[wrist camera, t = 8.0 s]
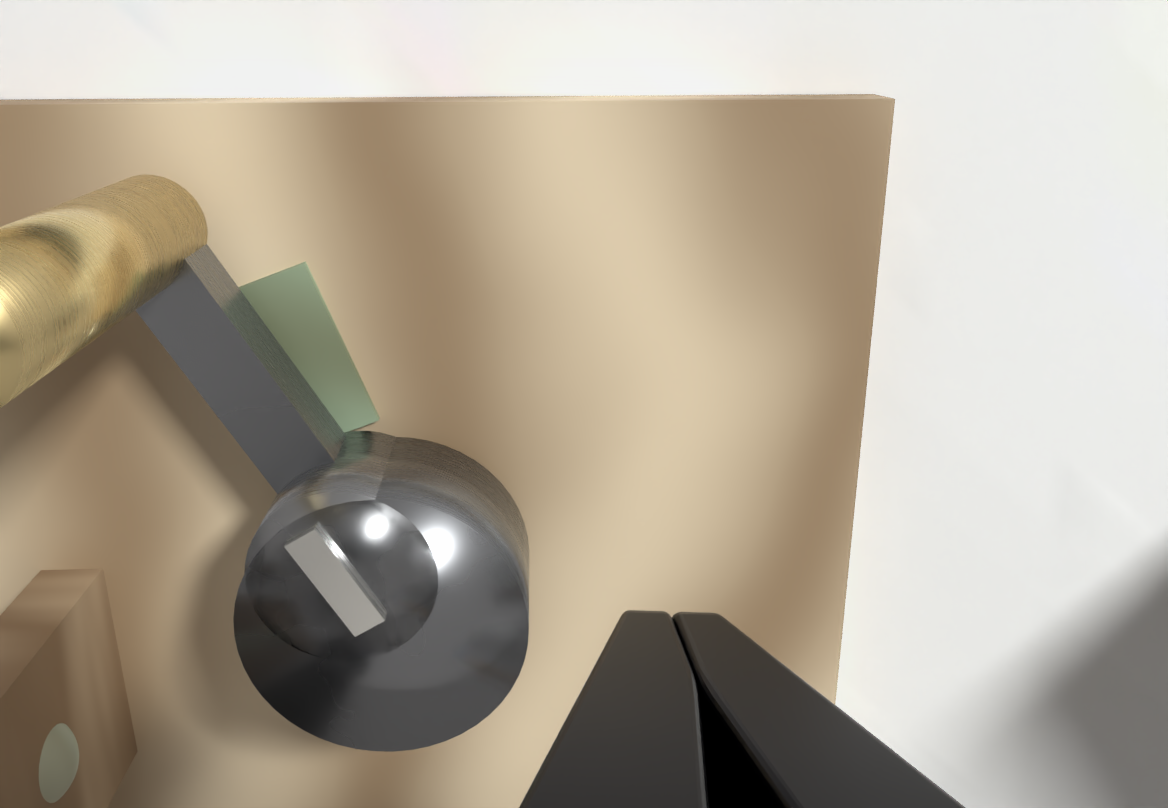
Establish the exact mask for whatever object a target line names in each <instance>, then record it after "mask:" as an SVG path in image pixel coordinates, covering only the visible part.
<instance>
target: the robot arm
mask: <svg viewBox="0 0 1168 808" xmlns="http://www.w3.org/2000/svg"><path fill="white" fill-rule="evenodd" d="M519 808H965V807H964V806H963V805H961V804H960V803H959V802H958V801H956V800H955V799H954V798H953V797H951V796H950V795H949V794H947V793H946V792H945V791H944V790H942V789H941V788H940V787H939V786H937V785H936V784H935V783H933V782H932V781H931V780H930V779H928V778H927V777H926V776H925V775H923V774H922V773H921V772H920V771H918V770H917V769H916V768H914V767H913V766H912V765H911V764H909V763H908V762H907V761H906V760H904V759H903V758H902V757H900V756H899V755H898V754H897V753H895V752H894V751H893V750H892V749H890V748H889V747H888V746H887V745H885V744H884V743H883V742H881V741H880V740H879V739H878V738H876V737H875V736H874V735H873V734H871V733H870V732H869V731H868V730H866V729H865V728H864V727H862V726H861V725H860V724H859V723H857V722H856V721H855V720H854V719H852V718H851V717H850V716H848V715H847V714H846V713H845V712H843V711H842V710H841V709H840V708H838V707H837V706H836V705H835V704H833V703H832V702H831V701H829V700H828V699H827V698H826V697H824V696H823V695H822V694H821V693H819V692H818V691H817V690H815V689H814V688H813V687H812V686H810V685H809V684H808V683H807V682H805V681H804V680H803V679H802V678H800V677H799V676H798V675H796V674H795V673H794V672H793V671H791V670H790V669H789V668H788V667H786V666H785V665H784V664H783V663H781V662H780V661H779V660H777V659H776V658H775V657H774V656H772V655H771V654H770V653H769V652H767V651H766V650H765V649H763V648H762V647H761V646H760V645H758V644H757V643H756V642H755V641H753V640H752V639H751V638H750V637H748V636H747V635H746V634H744V633H743V632H742V631H741V630H739V629H738V628H737V627H736V626H734V625H733V624H732V623H730V622H729V621H728V620H727V619H725V618H724V617H723V616H721V615H720V614H717V613H711V612H677V613H675V614H674V615H673V616H672V617H671V616H670V614H669V613H667V612H665V611H646V610H627V611H625V612H624V613H623V614H622V615H621V617H620V618H619V620H618V622H617V624H616V626H615V628H614V630H613V632H612V634H611V635H610V637H609V639H608V641H607V643H606V645H605V647H604V649H603V650H602V652H601V654H600V656H599V658H598V660H597V662H596V664H595V665H594V667H593V669H592V671H591V673H590V675H589V677H588V679H587V681H586V682H585V684H584V686H583V688H582V690H581V692H580V694H579V696H578V697H577V699H576V701H575V703H574V705H573V707H572V709H571V711H570V713H569V714H568V716H567V718H566V720H565V722H564V724H563V726H562V728H561V729H560V731H559V733H558V735H557V737H556V739H555V741H554V743H553V744H552V746H551V748H550V750H549V752H548V754H547V756H546V758H545V760H544V761H543V763H542V765H541V767H540V769H539V771H538V773H537V775H536V776H535V778H534V780H533V782H532V784H531V786H530V788H529V790H528V791H527V793H526V795H525V797H524V799H523V801H522V803H521V805H520V807H519Z"/></svg>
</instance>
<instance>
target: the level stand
mask: <svg viewBox="0 0 1168 808" xmlns="http://www.w3.org/2000/svg"><path fill="white" fill-rule="evenodd" d="M894 104H895V99H893V98H888V97H884V96H879V95H874V94H843V95H683V96H523V97H362V98H202V99H42V100H0V227H2V226H4V225H7V224H10V223H12V222H15V221H17V220H20V219H23V218H25V217H28V216H30V215H33V214H36V213H38V212H41V211H43V210H46V209H49V208H51V207H54V206H56V205H59V204H62V203H64V202H67V201H69V200H72V199H74V198H77V197H80V196H82V195H85V194H87V193H90V192H93V191H95V190H98V189H100V188H103V187H106V186H108V185H111V184H113V183H116V182H119V181H121V180H124V179H126V178H129V177H132V176H137V175H156V176H161V177H164V178H167V179H170V180H172V181H174V182H176V183H177V184H179V185H181V186H182V187H183V188H185V189H186V190H187V191H188V192H189V193H190V194H191V195H192V196H193V197H194V198H195V200H196V201H197V202H198V204H199V205H200V207H201V209H202V211H203V213H204V216H205V219H206V223H207V228H208V240H207V245H208V246H209V247H210V249H211V250H212V252H213V253H214V254H215V256H216V257H217V258H218V260H219V261H220V263H221V264H222V265H223V267H224V268H225V269H226V271H227V272H228V274H229V275H230V276H231V278H232V279H233V280H234V282H235V283H236V285H237V286H238V287H239V289H240V290H241V291H242V293H243V294H244V296H245V297H246V298H247V300H248V301H249V302H250V304H251V305H252V307H253V308H254V309H255V311H256V312H257V313H258V315H259V316H260V318H261V319H262V320H263V322H264V323H265V324H266V326H267V327H268V329H269V330H270V331H271V333H272V334H273V335H274V337H275V338H276V340H277V341H278V342H279V344H280V345H281V346H282V348H283V349H284V351H285V352H286V353H287V355H288V356H289V358H290V359H291V360H292V362H293V363H294V364H295V366H296V367H297V369H298V370H299V371H300V373H301V374H302V375H303V377H304V378H305V380H306V381H307V382H308V384H309V385H310V386H311V388H312V389H313V391H314V392H315V393H316V395H317V396H318V397H319V399H320V400H321V402H322V403H323V404H324V406H325V407H326V408H327V410H328V411H329V413H330V414H331V415H332V417H333V418H334V419H335V421H336V422H337V424H338V425H339V426H340V428H341V429H342V430H343V432H349V431H374V432H381V433H385V434H388V435H392V436H395V437H409V438H416V439H423V440H428V441H432V442H435V443H439V444H442V445H445V446H448V447H450V448H453V449H455V450H457V451H460V452H462V453H463V454H465V455H467V456H469V457H470V458H472V459H474V460H476V461H477V462H478V463H480V464H481V465H482V466H484V467H485V468H486V469H488V470H489V471H490V472H491V473H492V474H493V475H494V476H495V477H496V478H497V479H498V480H499V481H500V482H501V483H502V484H503V486H504V487H505V488H506V489H507V491H508V492H509V493H510V495H511V496H512V498H513V500H514V501H515V503H516V505H517V507H518V508H519V511H520V513H521V515H522V518H523V520H524V523H525V527H526V531H527V535H528V542H529V635H528V647H527V652H526V657H525V661H524V664H523V666H522V669H521V672H520V674H519V677H518V678H517V680H516V682H515V684H514V686H513V687H512V689H511V691H510V692H509V693H508V695H507V696H506V697H505V699H504V700H503V701H502V703H501V704H500V705H499V706H498V707H497V708H496V709H495V710H494V711H493V712H492V713H491V714H490V715H489V716H487V717H486V718H485V719H484V720H482V721H481V722H480V723H479V724H477V725H476V726H474V727H472V728H471V729H469V730H467V731H466V732H464V733H462V734H461V735H458V736H456V737H454V738H452V739H449V740H447V741H445V742H441V743H438V744H435V745H432V746H429V747H424V748H419V749H414V750H406V751H394V752H384V751H368V750H360V749H354V748H350V747H345V746H341V745H337V744H334V743H332V742H329V741H326V740H323V739H320V738H318V737H316V736H314V735H312V734H310V733H308V732H306V731H304V730H302V729H301V728H299V727H297V726H296V725H294V724H293V723H291V722H290V721H288V720H287V719H286V718H284V717H283V716H282V715H281V714H279V713H278V712H277V711H276V710H275V709H274V708H273V707H272V706H271V705H270V704H269V703H268V702H267V701H266V700H265V699H264V698H263V697H262V696H261V694H260V693H259V692H258V690H257V689H256V688H255V686H254V685H253V683H252V682H251V680H250V678H249V676H248V675H247V673H246V671H245V669H244V667H243V664H242V662H241V659H240V656H239V654H238V650H237V646H236V641H235V637H234V622H233V617H234V607H235V600H236V596H237V592H238V588H239V585H240V583H241V581H242V578H243V576H244V574H245V572H244V570H245V560H246V556H247V552H248V548H249V546H250V544H251V541H252V539H253V537H254V535H255V534H256V532H257V530H258V528H259V526H260V524H261V523H262V521H263V519H264V517H265V515H266V513H267V511H268V510H269V508H270V506H271V504H272V502H273V500H274V499H275V497H276V495H277V493H276V492H275V490H274V489H273V488H272V486H271V485H270V484H269V483H268V481H267V480H266V479H265V477H264V476H263V475H262V474H261V472H260V471H259V470H258V468H257V467H256V466H255V464H254V463H253V462H252V461H251V459H250V458H249V457H248V455H247V454H246V453H245V452H244V450H243V449H242V448H241V446H240V445H239V444H238V442H237V441H236V440H235V439H234V437H233V436H232V435H231V433H230V432H229V431H228V430H227V428H226V427H225V426H224V424H223V423H222V422H221V420H220V419H219V418H218V417H217V415H216V414H215V413H214V411H213V410H212V409H211V408H210V406H209V405H208V404H207V402H206V401H205V400H204V398H203V397H202V396H201V395H200V393H199V392H198V391H197V389H196V388H195V387H194V386H193V384H192V383H191V382H190V380H189V379H188V378H187V376H186V375H185V374H184V373H183V371H182V370H181V369H180V367H179V366H178V365H177V364H176V362H175V361H174V360H173V358H172V357H171V356H170V354H169V353H168V352H167V351H166V349H165V348H164V347H163V345H162V344H161V343H160V342H159V340H158V339H157V338H156V336H155V335H154V334H153V332H152V331H151V330H150V329H149V327H148V326H147V325H146V323H145V322H144V321H143V320H142V318H141V317H140V316H139V314H138V313H137V312H136V310H135V311H134V312H132V313H131V314H129V315H128V316H127V317H125V318H124V319H123V320H121V321H120V322H118V323H117V324H116V325H114V326H113V327H112V328H110V329H109V330H107V331H106V332H105V333H103V334H102V335H101V336H99V337H98V338H96V339H95V340H94V341H92V342H91V343H89V344H88V345H87V346H85V347H84V348H83V349H81V350H80V351H78V352H77V353H76V354H74V355H73V356H72V357H70V358H69V359H67V360H66V361H65V362H63V363H62V364H61V365H59V366H58V367H56V368H55V369H54V370H52V371H51V372H49V373H48V374H47V375H45V376H44V377H43V378H41V379H40V380H38V381H37V382H36V383H34V384H33V385H32V386H30V387H29V388H27V389H26V390H25V391H23V392H22V393H21V394H19V395H18V396H16V397H15V398H14V399H12V400H11V401H9V402H8V403H7V404H5V405H4V406H3V407H1V408H0V808H519V807H520V805H521V803H522V801H523V799H524V797H525V795H526V793H527V791H528V790H529V788H530V786H531V784H532V782H533V780H534V778H535V776H536V775H537V773H538V771H539V769H540V767H541V765H542V763H543V761H544V760H545V758H546V756H547V754H548V752H549V750H550V748H551V746H552V744H553V743H554V741H555V739H556V737H557V735H558V733H559V731H560V729H561V728H562V726H563V724H564V722H565V720H566V718H567V716H568V714H569V713H570V711H571V709H572V707H573V705H574V703H575V701H576V699H577V697H578V696H579V694H580V692H581V690H582V688H583V686H584V684H585V682H586V681H587V679H588V677H589V675H590V673H591V671H592V669H593V667H594V665H595V664H596V662H597V660H598V658H599V656H600V654H601V652H602V650H603V649H604V647H605V645H606V643H607V641H608V639H609V637H610V635H611V634H612V632H613V630H614V628H615V626H616V624H617V622H618V620H619V618H620V617H621V615H622V614H623V613H624V612H625V611H627V610H646V611H665V612H667V613H669V614H670V616H671V617H672V616H673V615H674V614H675V613H677V612H711V613H717V614H720V615H721V616H723V617H724V618H725V619H727V620H728V621H729V622H730V623H732V624H733V625H734V626H736V627H737V628H738V629H739V630H741V631H742V632H743V633H744V634H746V635H747V636H748V637H750V638H751V639H752V640H753V641H755V642H756V643H757V644H758V645H760V646H761V647H762V648H763V649H765V650H766V651H767V652H769V653H770V654H771V655H772V656H774V657H775V658H776V659H777V660H779V661H780V662H781V663H783V664H784V665H785V666H786V667H788V668H789V669H790V670H791V671H793V672H794V673H795V674H796V675H798V676H799V677H800V678H802V679H803V680H804V681H805V682H807V683H808V684H809V685H810V686H812V687H813V688H814V689H815V690H817V691H818V692H819V693H821V694H822V695H823V696H824V697H826V698H827V699H828V700H829V701H831V702H832V703H833V704H835V700H836V690H837V680H838V670H839V659H840V649H841V639H842V629H843V619H844V609H845V599H846V589H847V579H848V569H849V558H850V548H851V538H852V528H853V518H854V508H855V498H856V488H857V478H858V467H859V457H860V447H861V437H862V427H863V417H864V407H865V397H866V387H867V376H868V366H869V356H870V346H871V336H872V326H873V316H874V306H875V296H876V286H877V275H878V265H879V255H880V245H881V235H882V225H883V215H884V205H885V195H886V184H887V174H888V164H889V154H890V144H891V134H892V124H893V114H894Z"/></svg>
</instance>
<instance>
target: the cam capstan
mask: <svg viewBox="0 0 1168 808" xmlns="http://www.w3.org/2000/svg"><path fill="white" fill-rule="evenodd" d="M207 240H208V228H207V223H206V219H205V216H204V213H203V211H202V209H201V207H200V205H199V204H198V202H197V201H196V200H195V198H194V197H193V196H192V195H191V194H190V193H189V192H188V191H187V190H186V189H185V188H183V187H182V186H181V185H179V184H177V183H176V182H174V181H172V180H170V179H167V178H164V177H161V176H156V175H137V176H132V177H129V178H126V179H124V180H121V181H119V182H116V183H113V184H111V185H108V186H106V187H103V188H100V189H98V190H95V191H93V192H90V193H87V194H85V195H82V196H80V197H77V198H74V199H72V200H69V201H67V202H64V203H62V204H59V205H56V206H54V207H51V208H49V209H46V210H43V211H41V212H38V213H36V214H33V215H30V216H28V217H25V218H23V219H20V220H17V221H15V222H12V223H10V224H7V225H4V226H2V227H0V408H1V407H3V406H4V405H5V404H7V403H8V402H9V401H11V400H12V399H14V398H15V397H16V396H18V395H19V394H21V393H22V392H23V391H25V390H26V389H27V388H29V387H30V386H32V385H33V384H34V383H36V382H37V381H38V380H40V379H41V378H43V377H44V376H45V375H47V374H48V373H49V372H51V371H52V370H54V369H55V368H56V367H58V366H59V365H61V364H62V363H63V362H65V361H66V360H67V359H69V358H70V357H72V356H73V355H74V354H76V353H77V352H78V351H80V350H81V349H83V348H84V347H85V346H87V345H88V344H89V343H91V342H92V341H94V340H95V339H96V338H98V337H99V336H101V335H102V334H103V333H105V332H106V331H107V330H109V329H110V328H112V327H113V326H114V325H116V324H117V323H118V322H120V321H121V320H123V319H124V318H125V317H127V316H128V315H129V314H131V313H132V312H134V311H135V310H136V312H137V313H138V314H139V316H140V317H141V318H142V320H143V321H144V322H145V323H146V325H147V326H148V327H149V329H150V330H151V331H152V332H153V334H154V335H155V336H156V338H157V339H158V340H159V342H160V343H161V344H162V345H163V347H164V348H165V349H166V351H167V352H168V353H169V354H170V356H171V357H172V358H173V360H174V361H175V362H176V364H177V365H178V366H179V367H180V369H181V370H182V371H183V373H184V374H185V375H186V376H187V378H188V379H189V380H190V382H191V383H192V384H193V386H194V387H195V388H196V389H197V391H198V392H199V393H200V395H201V396H202V397H203V398H204V400H205V401H206V402H207V404H208V405H209V406H210V408H211V409H212V410H213V411H214V413H215V414H216V415H217V417H218V418H219V419H220V420H221V422H222V423H223V424H224V426H225V427H226V428H227V430H228V431H229V432H230V433H231V435H232V436H233V437H234V439H235V440H236V441H237V442H238V444H239V445H240V446H241V448H242V449H243V450H244V452H245V453H246V454H247V455H248V457H249V458H250V459H251V461H252V462H253V463H254V464H255V466H256V467H257V468H258V470H259V471H260V472H261V474H262V475H263V476H264V477H265V479H266V480H267V481H268V483H269V484H270V485H271V486H272V488H273V489H274V490H275V492H276V493H277V495H276V497H275V499H274V500H273V502H272V504H271V506H270V508H269V510H268V511H267V513H266V515H265V517H264V519H263V521H262V523H261V524H260V526H259V528H258V530H257V532H256V534H255V535H254V537H253V539H252V541H251V544H250V546H249V548H248V552H247V556H246V560H245V570H244V572H245V574H244V576H243V578H242V581H241V583H240V585H239V588H238V592H237V596H236V600H235V607H234V617H233V622H234V637H235V641H236V646H237V650H238V654H239V656H240V659H241V662H242V664H243V667H244V669H245V671H246V673H247V675H248V676H249V678H250V680H251V682H252V683H253V685H254V686H255V688H256V689H257V690H258V692H259V693H260V694H261V696H262V697H263V698H264V699H265V700H266V701H267V702H268V703H269V704H270V705H271V706H272V707H273V708H274V709H275V710H276V711H277V712H278V713H279V714H281V715H282V716H283V717H284V718H286V719H287V720H288V721H290V722H291V723H293V724H294V725H296V726H297V727H299V728H301V729H302V730H304V731H306V732H308V733H310V734H312V735H314V736H316V737H318V738H320V739H323V740H326V741H329V742H332V743H334V744H337V745H341V746H345V747H350V748H354V749H360V750H368V751H384V752H394V751H406V750H414V749H419V748H424V747H429V746H432V745H435V744H438V743H441V742H445V741H447V740H449V739H452V738H454V737H456V736H458V735H461V734H462V733H464V732H466V731H467V730H469V729H471V728H472V727H474V726H476V725H477V724H479V723H480V722H481V721H482V720H484V719H485V718H486V717H487V716H489V715H490V714H491V713H492V712H493V711H494V710H495V709H496V708H497V707H498V706H499V705H500V704H501V703H502V701H503V700H504V699H505V697H506V696H507V695H508V693H509V692H510V691H511V689H512V687H513V686H514V684H515V682H516V680H517V678H518V677H519V674H520V672H521V669H522V666H523V664H524V661H525V657H526V652H527V647H528V635H529V542H528V535H527V531H526V527H525V523H524V520H523V518H522V515H521V513H520V511H519V508H518V507H517V505H516V503H515V501H514V500H513V498H512V496H511V495H510V493H509V492H508V491H507V489H506V488H505V487H504V486H503V484H502V483H501V482H500V481H499V480H498V479H497V478H496V477H495V476H494V475H493V474H492V473H491V472H490V471H489V470H488V469H486V468H485V467H484V466H482V465H481V464H480V463H478V462H477V461H476V460H474V459H472V458H470V457H469V456H467V455H465V454H463V453H462V452H460V451H457V450H455V449H453V448H450V447H448V446H445V445H442V444H439V443H435V442H432V441H428V440H423V439H416V438H409V437H395V436H392V435H388V434H385V433H381V432H374V431H349V432H343V430H342V429H341V428H340V426H339V425H338V424H337V422H336V421H335V419H334V418H333V417H332V415H331V414H330V413H329V411H328V410H327V408H326V407H325V406H324V404H323V403H322V402H321V400H320V399H319V397H318V396H317V395H316V393H315V392H314V391H313V389H312V388H311V386H310V385H309V384H308V382H307V381H306V380H305V378H304V377H303V375H302V374H301V373H300V371H299V370H298V369H297V367H296V366H295V364H294V363H293V362H292V360H291V359H290V358H289V356H288V355H287V353H286V352H285V351H284V349H283V348H282V346H281V345H280V344H279V342H278V341H277V340H276V338H275V337H274V335H273V334H272V333H271V331H270V330H269V329H268V327H267V326H266V324H265V323H264V322H263V320H262V319H261V318H260V316H259V315H258V313H257V312H256V311H255V309H254V308H253V307H252V305H251V304H250V302H249V301H248V300H247V298H246V297H245V296H244V294H243V293H242V291H241V290H240V289H239V287H238V286H237V285H236V283H235V282H234V280H233V279H232V278H231V276H230V275H229V274H228V272H227V271H226V269H225V268H224V267H223V265H222V264H221V263H220V261H219V260H218V258H217V257H216V256H215V254H214V253H213V252H212V250H211V249H210V247H209V246H208V245H207Z"/></svg>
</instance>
